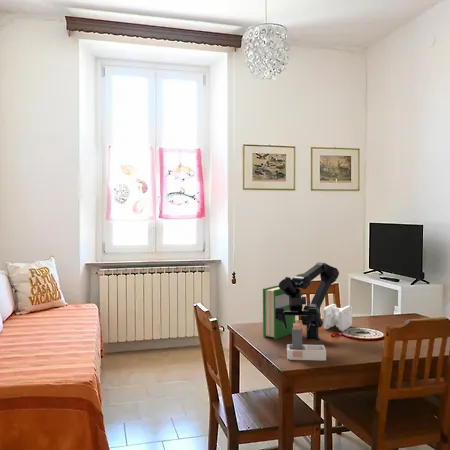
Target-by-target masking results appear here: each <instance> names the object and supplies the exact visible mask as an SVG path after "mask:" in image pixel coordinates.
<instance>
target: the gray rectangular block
mask: <svg viewBox="0 0 450 450" xmlns="http://www.w3.org/2000/svg"><path fill="white" fill-rule="evenodd" d="M291 340H292V341H291V342H292V343H291V344H292V350H302V345H303V328H302V322H301V323H297V322H295V323H293V328H292V333H291Z"/></svg>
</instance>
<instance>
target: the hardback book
mask: <svg viewBox="0 0 450 450" xmlns="http://www.w3.org/2000/svg"><path fill="white" fill-rule="evenodd" d="M276 308H284V311H290V309H289V296H288V295H286V294H285V293H284V292H283V291H282V290H281V289H280V288H279V284H278V285H272V286H269V287H265V288H262V337H263V338H266V337H271V338H273V339H274V340H278V339H280V338H284V337H286V336H288V335H292V328H293V323H296V316H294V315H285V319H286V325H287V331H286V330H285V328H284V326H283V324H282V322H281V321H279V320H278V319H275V309H276Z"/></svg>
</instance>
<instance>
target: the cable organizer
mask: <svg viewBox="0 0 450 450" xmlns="http://www.w3.org/2000/svg"><path fill="white" fill-rule="evenodd" d="M352 325H353V306H352V305H346V306H344V307H337V304H336V303H331V304H330V305H326V306H325V307H324V308H323V328H324V329H326V330H329V329H330V328H332V327H334V326H336V328H338V330H339V331H341V332H345V331H346V330H347V329H349V328H350V327H352Z"/></svg>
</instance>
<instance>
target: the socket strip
mask: <svg viewBox="0 0 450 450" xmlns="http://www.w3.org/2000/svg"><path fill="white" fill-rule="evenodd" d="M286 355H287V356H286V357H287V360H288V359H289V360H290V361H292V360H293V361H327V349H326V347H325V344H302V350H292V343H291V344H286Z"/></svg>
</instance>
